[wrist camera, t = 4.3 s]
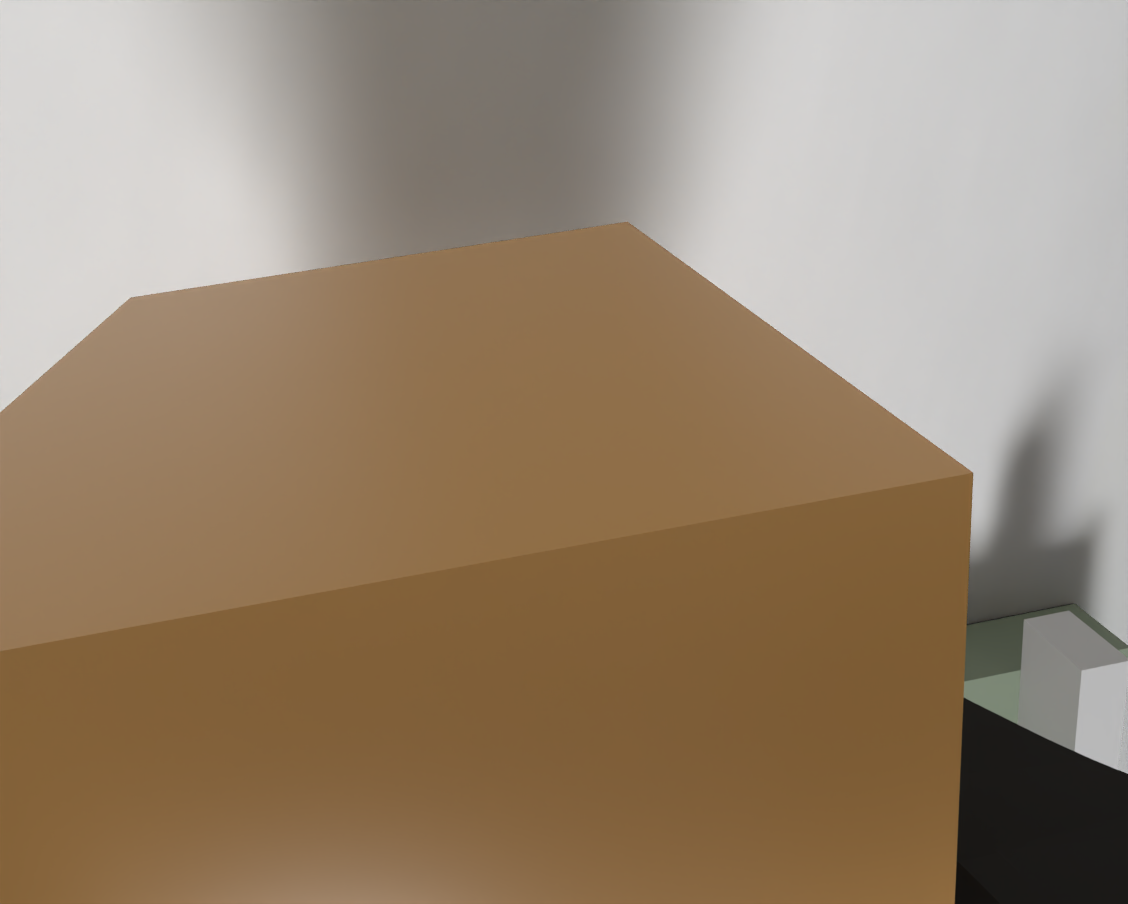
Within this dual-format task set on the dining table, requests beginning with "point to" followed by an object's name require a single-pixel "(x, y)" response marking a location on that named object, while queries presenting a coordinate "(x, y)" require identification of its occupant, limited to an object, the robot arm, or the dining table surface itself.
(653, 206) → the dining table surface
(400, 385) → the tan rectangular prism
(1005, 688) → the pale green tray
